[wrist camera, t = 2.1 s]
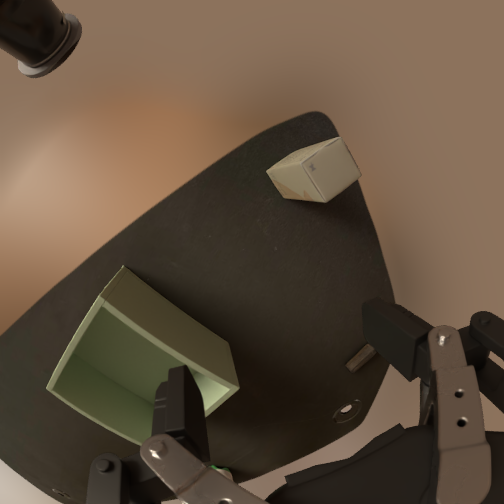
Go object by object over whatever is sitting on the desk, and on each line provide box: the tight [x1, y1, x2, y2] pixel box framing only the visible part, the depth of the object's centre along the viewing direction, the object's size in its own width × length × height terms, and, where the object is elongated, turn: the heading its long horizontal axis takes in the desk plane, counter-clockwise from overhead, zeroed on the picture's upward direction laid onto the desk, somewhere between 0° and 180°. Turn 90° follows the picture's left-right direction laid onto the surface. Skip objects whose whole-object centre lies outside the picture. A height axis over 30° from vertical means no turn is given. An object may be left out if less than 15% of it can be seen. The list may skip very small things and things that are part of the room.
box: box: [266, 137, 361, 203], centre depth 27 cm, size 5×4×11 cm
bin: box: [46, 266, 240, 446], centre depth 30 cm, size 18×18×10 cm
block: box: [345, 344, 377, 374], centre depth 42 cm, size 4×6×2 cm, turn 128°
